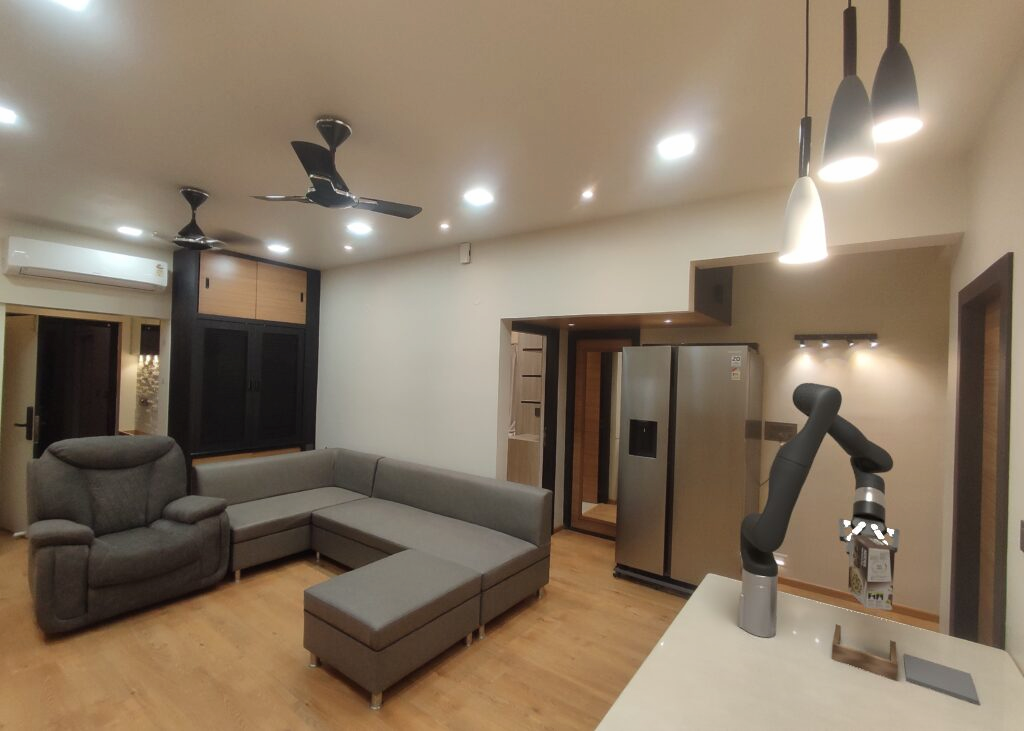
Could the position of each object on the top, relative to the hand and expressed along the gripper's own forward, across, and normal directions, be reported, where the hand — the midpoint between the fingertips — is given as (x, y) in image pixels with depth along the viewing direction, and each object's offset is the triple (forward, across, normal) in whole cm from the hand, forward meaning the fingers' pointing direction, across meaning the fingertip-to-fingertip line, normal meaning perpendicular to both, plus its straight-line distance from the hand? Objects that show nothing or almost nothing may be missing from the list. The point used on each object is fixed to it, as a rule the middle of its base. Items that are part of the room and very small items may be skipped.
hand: (866, 559), depth 128 cm
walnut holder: (+19, 0, +17) cm, 26 cm away
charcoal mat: (+19, +15, +18) cm, 30 cm away
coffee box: (+9, +1, +6) cm, 11 cm away
